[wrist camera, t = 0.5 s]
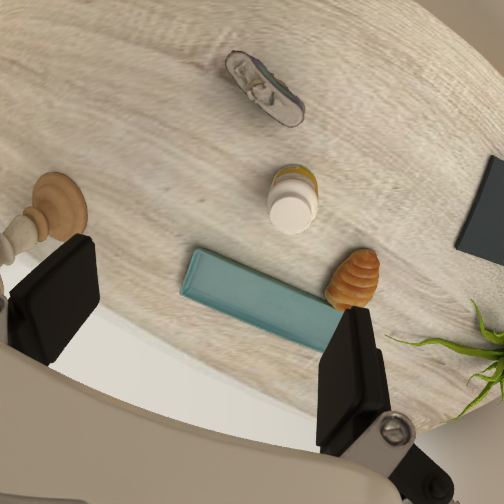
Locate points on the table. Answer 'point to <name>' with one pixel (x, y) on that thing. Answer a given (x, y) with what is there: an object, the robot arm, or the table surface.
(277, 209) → the supplement bottle
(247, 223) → the table surface
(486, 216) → the mat
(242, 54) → the flask
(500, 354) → the decorative plant
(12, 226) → the candle holder
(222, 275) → the teal serving tray
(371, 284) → the pastry
